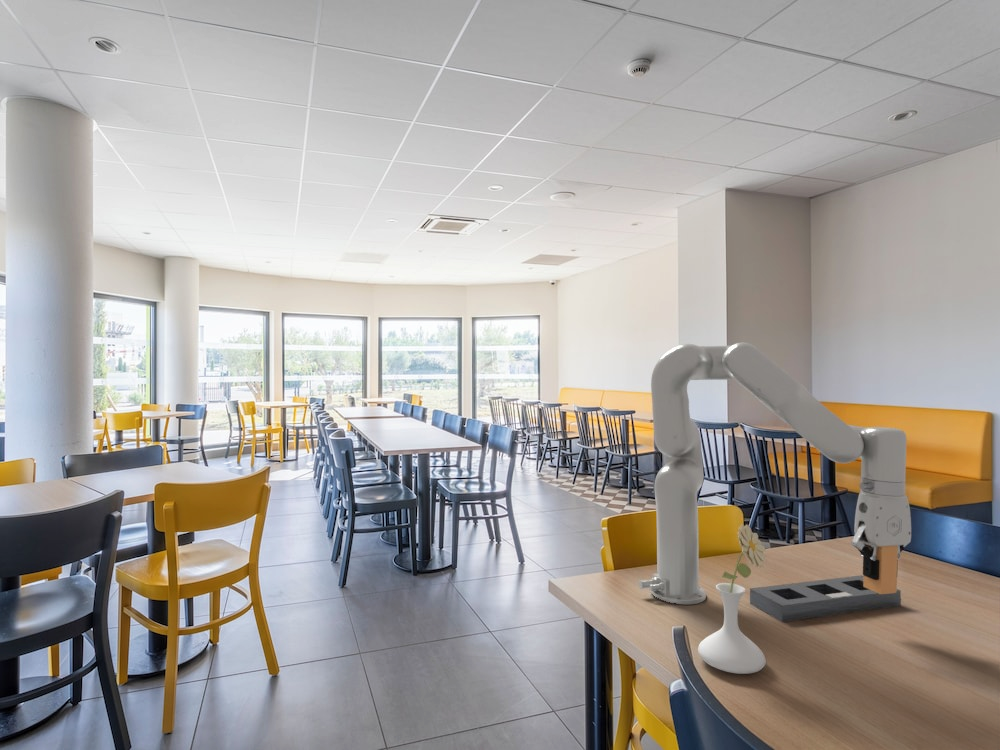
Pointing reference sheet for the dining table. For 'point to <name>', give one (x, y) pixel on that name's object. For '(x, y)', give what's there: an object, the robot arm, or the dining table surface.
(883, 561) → the square peg
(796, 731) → the dining table surface
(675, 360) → the robot arm
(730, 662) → the flower in vase
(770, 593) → the peg board
